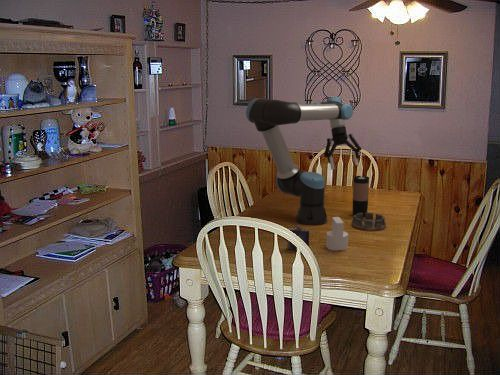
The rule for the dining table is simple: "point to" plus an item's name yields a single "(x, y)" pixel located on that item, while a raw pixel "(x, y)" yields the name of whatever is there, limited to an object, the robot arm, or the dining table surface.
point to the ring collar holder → (368, 222)
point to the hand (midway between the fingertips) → (344, 167)
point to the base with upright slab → (337, 236)
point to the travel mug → (360, 195)
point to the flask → (301, 233)
